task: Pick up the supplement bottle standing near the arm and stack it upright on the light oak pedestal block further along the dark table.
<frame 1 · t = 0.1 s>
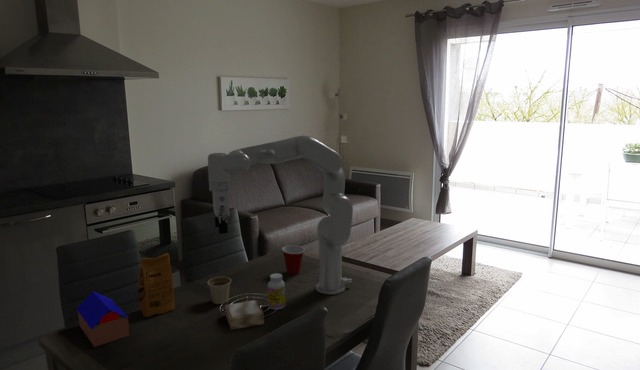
hand: (221, 229, 172), 31 cm above the table, tool pointing down, fingers open, 9 cm apart
house: (104, 331, 159), on the table
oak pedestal: (244, 319, 166), on the table
plastic cup: (293, 273, 212), on the table
flower pot: (220, 301, 182), on the table
supplement bottle: (276, 307, 176), on the table
coffee package: (157, 310, 174), on the table
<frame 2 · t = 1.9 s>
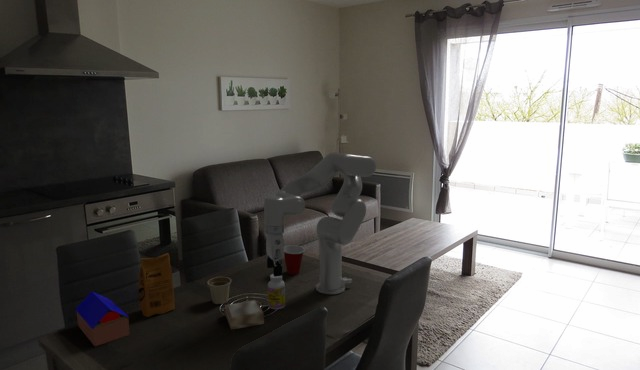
hand: (274, 271, 173), 15 cm above the table, tool pointing down, fingers open, 9 cm apart
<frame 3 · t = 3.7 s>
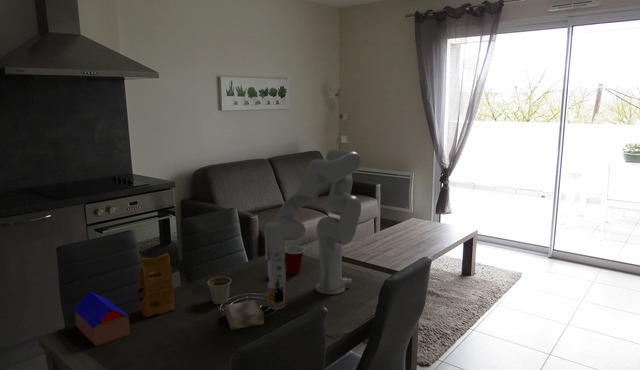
hand: (276, 297, 176), 4 cm above the table, tool pointing down, fingers closed on supplement bottle, 6 cm apart
supplement bottle: (276, 306, 176), on the table, touching gripper
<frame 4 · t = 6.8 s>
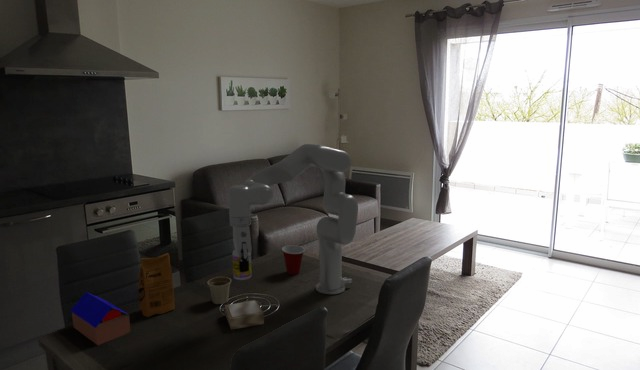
hand: (242, 267, 163), 20 cm above the table, tool pointing down, fingers closed on supplement bottle, 6 cm apart
supplement bottle: (242, 277, 163), point 16 cm above the table, touching gripper
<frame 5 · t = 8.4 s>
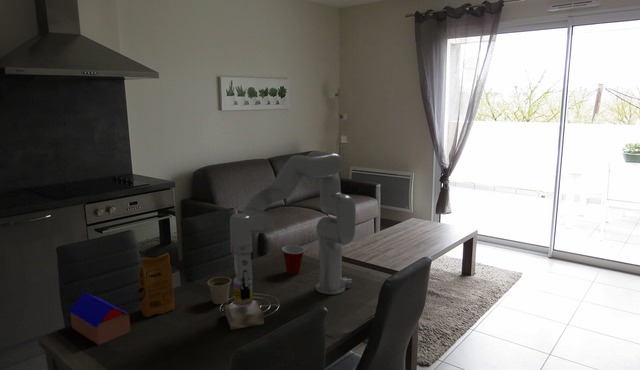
hand: (243, 294, 164), 10 cm above the table, tool pointing down, fingers closed on supplement bottle, 6 cm apart
supplement bottle: (243, 304, 165), point 6 cm above the table, touching gripper
when the fingers open (9 cm above the table, at t = 9.7 s): supplement bottle stays where it is, resting on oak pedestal.
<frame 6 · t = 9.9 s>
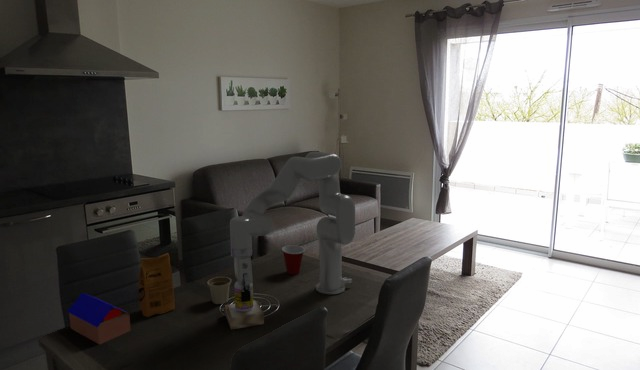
hand: (243, 296, 164), 9 cm above the table, tool pointing down, fingers open, 8 cm apart
supplement bottle: (244, 308, 165), point 4 cm above the table, touching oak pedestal
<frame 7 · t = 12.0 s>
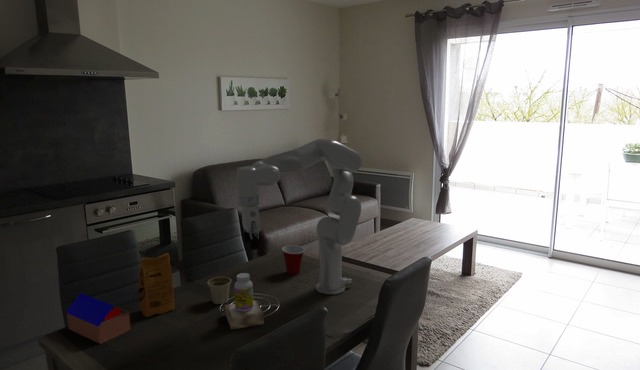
hand: (251, 245, 167), 27 cm above the table, tool pointing down, fingers open, 9 cm apart
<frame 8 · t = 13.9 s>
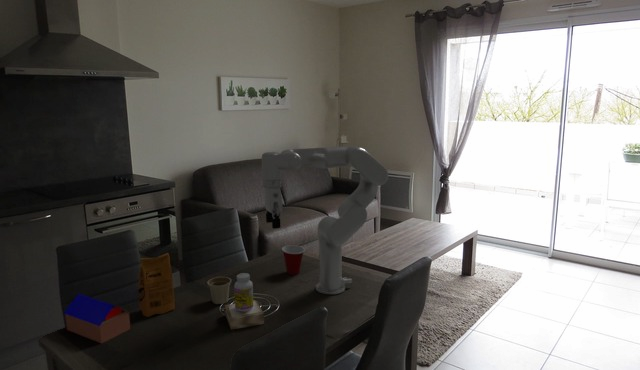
hand: (273, 225, 181), 30 cm above the table, tool pointing down, fingers open, 9 cm apart
at the end: supplement bottle inside the target area on the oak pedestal (0.1 cm from its centre), point 4.1 cm above the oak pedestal's base; supplement bottle tilted 0°; the gripper is holding nothing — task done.
